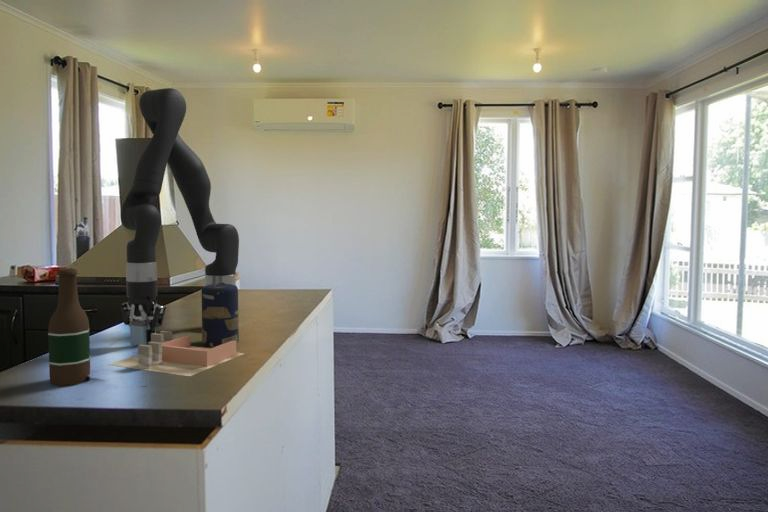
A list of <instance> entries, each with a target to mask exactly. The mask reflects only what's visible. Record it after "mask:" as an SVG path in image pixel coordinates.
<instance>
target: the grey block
mask: <svg viewBox="0 0 768 512" xmlns="http://www.w3.org/2000/svg"><path fill="white" fill-rule="evenodd" d="M150 324H151V321H150ZM146 330H147V328H146V322H144V321H143V319H140V320H135V321H131V322H130V327H129V331H130V332H129V333H130V334H129V335H130V336H129V337H130V339H129V340H130V342H129V343H130V347H131V348H132V347H135V346H138V345H141V344H142V345H148V343H147V340H146ZM156 330H157V328H156V329H155V333H157V332H156Z"/></svg>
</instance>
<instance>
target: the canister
mask: <svg viewBox="0 0 768 512" xmlns="http://www.w3.org/2000/svg"><path fill="white" fill-rule="evenodd" d="M219 283H222V284H219ZM239 319H240V318H239V289H238V286H237V285H236V286H235V285H232V284H225V283H224V282H218V283H216V284H212V285H206V286H205V285H204V286H203V287H201V339H202V340H201V341H202V346H205V347H207V348H213V347H216V346H219V345H222V344H224V343H227V342H230V341H236V345H237V344H238V343H239V340H240V339H239V326H240V324H239Z"/></svg>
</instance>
